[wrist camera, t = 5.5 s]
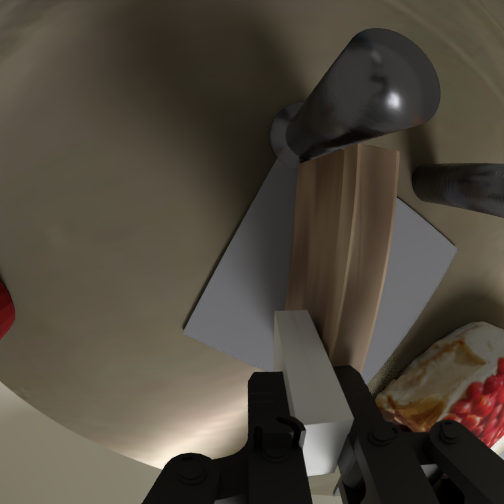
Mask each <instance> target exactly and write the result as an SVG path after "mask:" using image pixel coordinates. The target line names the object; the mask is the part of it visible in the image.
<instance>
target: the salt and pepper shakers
mask: <svg viewBox="0 0 504 504" xmlns="http://www.w3.org/2000/svg"><path fill="white" fill-rule="evenodd" d="M439 103H440V84H439V80H438V76H437V73H436V71H435V69H434V67H433V65H432V63H431V62H430V60H429V59H428V57H427V56H426V55H425V53H424V52H423V51H422V50H421V49H420V48H419V47H418V46H417V45H416V44H415V43H414V42H412V41H411V40H409V39H408V38H407V37H405V36H403V35H401V34H399V33H397V32H394V31H391V30H388V29H382V28H371V29H366V30H364V31H361V32H360V33H358V34H356V35H355V36H354V37H353V38H352V40H351V41H350V42H349V43H348V45H347V46H346V47H345V49H344V50H343V51H342V52H341V54H340V55H339V56H338V58H337V59H336V60H335V62H334V63H333V64H332V66H331V67H330V68H329V70H328V71H327V72H326V74H325V75H324V76H323V78H322V79H321V80H320V82H319V83H318V84H317V86H316V87H315V88H314V90H313V91H312V93H311V94H310V95H309V97H308V98H307V99H306V101H305V102H298V103H294V104H291V105H289V106H287V107H285V108H284V109H282V110H281V111H280V112H279V113H278V114H277V116H276V117H275V119H274V121H273V123H272V126H271V129H270V143H271V147H272V150H273V152H274V154H275V155H276V157H277V158H279V159H280V160H281V162H283V163H284V164H285V165H286V166H288V167H289V168H291V169H293V170H296V171H298V164H300V163H303V162H306V161H309V160H312V159H315V158H318V157H321V156H324V155H327V154H330V153H333V152H336V151H340V150H341V149H342V148H344V147H347V146H350V145H353V144H356V143H360V142H363V141H366V140H369V139H372V138H376V137H379V136H382V135H386V134H389V133H393V132H396V131H399V130H403V129H407V128H410V127H414V126H418V125H421V124H423V123H425V122H427V121H429V120H430V119H431V118H432V117H433V116H434V114H435V113H436V111H437V109H438V106H439ZM412 185H413V190H414V192H415V194H416V196H417V197H418V198H419V199H420V200H422V201H425V202H431V203H436V204H442V205H447V206H452V207H457V208H462V209H467V210H472V211H476V212H481V213H485V214H490V215H494V216H498V217H502V218H504V164H490V163H450V164H423V165H420V166H419V167H418V168H417V169H416V170H415V172H414V174H413V178H412Z"/></svg>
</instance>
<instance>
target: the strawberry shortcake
mask: <svg viewBox="0 0 504 504" xmlns="http://www.w3.org/2000/svg"><path fill="white" fill-rule="evenodd" d="M402 373H403V374H402ZM402 373H400V374H399V375H401V374H402V375H401V376H400V377H399V378H398V379H397V380H395V378H394V379H393V380H392V381H391V382H390V383H389V384H388V385H387V386H386V388H385V389H384V390H383V391H381V392H380V393H379V394H378V395H377V396H376V399H375V402H376V404H377V406H378V408H379V410H380V412H381V414H382V416H383V417H384V419H385V421H389V422H392V423H394V424H396V425H397V426H398V427H399V428H400V429H401V430H402V431H403V432H429V430H430V429H431V427H432V426H433V425H434V424H435V423H436V422H438V421H441V420H447V419H450V420H454V421H457V422H459V423H461V424H462V425H464V426H465V427H466V428H467V429H468V430H469V431H471V432H472V433H473V434H474V435H475V436H476V437H478V438H479V439H480V440H481V441H482V442H483V443H484V444H486V445H487V446H488V447H489V448H491V447H492V446H493V445H494V444H495V443H496V442H497V441H498V440H499V439H500V438H501V437H502V436H503V435H504V329H503V328H498V327H495V326H493V325H491V324H488V323H486V322H484V321H480V322H471V323H469V324H467V325H465V326H463V327H460V328H458V329H456V330H454V331H453V332H452V333H450V334H449V335H447V336H446V337H444V338H443V339H441V340H438V341H436V342H435V343H433V345H432V346H431V347H430V348H429V349H427V350H426V351H425V352H424V353H423V354H421V355H420V356H419V357H417V358H416V359H415V360H414V361H413V362H412V363H411V364H410V365H409V366H407V368H406V369H405V370H404V371H403V372H402ZM399 375H398V376H399ZM398 376H397V377H398ZM444 475H445V474H444Z"/></svg>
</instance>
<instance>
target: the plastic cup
mask: <svg viewBox="0 0 504 504" xmlns="http://www.w3.org/2000/svg"><path fill="white" fill-rule="evenodd" d="M14 320H15V310H14V306H13V302H12V299H11V297H10V295H9V293H8V291H7V289H6V288H5V287H4V285H3V284H2V283H1V282H0V339H1V338H2V337H3V336H4V335H5V334H6V332H7V331H8V330H9V329H10V327H11V325H12V324H13V322H14Z"/></svg>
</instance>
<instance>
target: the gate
mask: <svg viewBox="0 0 504 504" xmlns="http://www.w3.org/2000/svg"><path fill="white" fill-rule="evenodd" d="M398 173H399V151H395V150H390V149H385V148H380V147H375V146H370V145H365V144H359V143H357V144H354V145H351V146H348V147H345V149H343V150H340V151H336V152H333V153H330V154H327V155H324V156H321V157H318V158H315V159H312V160H309V161H306V162H303V163H300V164H298V171H297V186H296V199H295V212H294V225H293V236H292V247H291V258H290V268H289V278H288V288H287V297H286V306H285V311H290V310H308V313H309V315H310V317H311V319H312V322H313V324H314V326H315V328H316V331H317V333H318V335H319V338H320V340H321V342H322V344H323V347H324V349H325V351H326V354H327V356H328V358H329V361H330V363H331V365H332V367H337V366H346V365H351V366H352V367H353V368H354V369H356V370H357V371H358V372H360V374H361V372H362V369H363V366H364V362H365V359H366V356H367V352H368V349H369V345H370V342H371V338H372V334H373V330H374V326H375V322H376V318H377V314H378V310H379V305H380V301H381V296H382V291H383V287H384V282H385V276H386V271H387V265H388V260H389V253H390V247H391V240H392V233H393V226H394V217H395V208H396V198H397V187H398Z"/></svg>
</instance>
